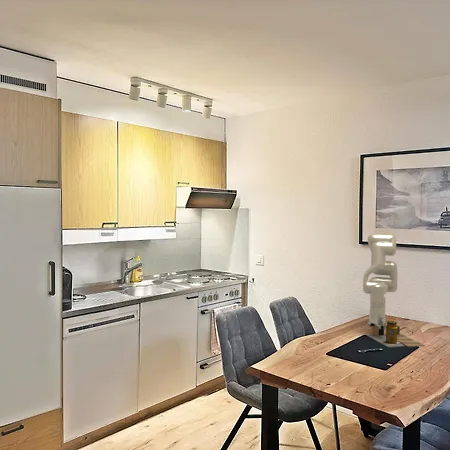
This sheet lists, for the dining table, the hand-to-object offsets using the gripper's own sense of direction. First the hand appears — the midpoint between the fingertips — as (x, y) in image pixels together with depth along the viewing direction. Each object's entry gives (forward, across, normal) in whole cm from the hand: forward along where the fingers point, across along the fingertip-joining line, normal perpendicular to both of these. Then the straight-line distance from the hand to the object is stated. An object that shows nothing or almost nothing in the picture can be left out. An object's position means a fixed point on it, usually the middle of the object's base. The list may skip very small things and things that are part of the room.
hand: (376, 333), depth 266 cm
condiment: (+2, +14, 0) cm, 15 cm away
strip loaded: (+2, +8, 0) cm, 9 cm away
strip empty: (+2, +10, +12) cm, 15 cm away
